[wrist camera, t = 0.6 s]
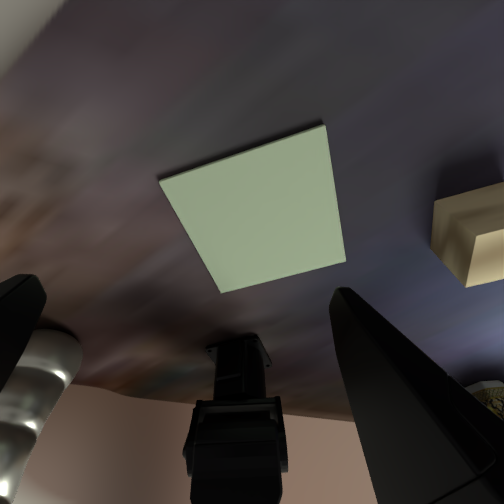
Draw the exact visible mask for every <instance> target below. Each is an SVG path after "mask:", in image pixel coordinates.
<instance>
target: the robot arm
mask: <svg viewBox="0 0 504 504" xmlns="http://www.w3.org/2000/svg"><path fill="white" fill-rule="evenodd" d="M46 300H47V295H46V292H45V290H44V288H43V286H42V284H41V282H40V280H39V278H38V277H37V276H36V275H33V274H18V275H15V276H13V277H11V278H9V279H7V280H5V281H3V282H1V283H0V393H1V391H2V389H3V388H4V386H5V384H6V382H7V381H8V379H9V377H10V375H11V374H12V372H13V370H14V368H15V367H16V365H17V363H18V361H19V360H20V358H21V356H22V354H23V352H24V350H25V348H26V346H27V344H28V342H29V340H30V338H31V335H32V333H33V331H34V329H35V326H36V324H37V322H38V319H39V317H40V315H41V312H42V310H43V308H44V306H45V303H46ZM329 314H330V320H331V326H332V332H333V339H334V345H335V351H336V356H337V360H338V364H339V367H340V371H341V374H342V378H343V381H344V385H345V388H346V392H347V396H348V399H349V403H350V406H351V410H352V413H353V417H354V420H355V424H356V427H357V431H358V434H359V438H360V442H361V445H362V449H363V452H364V456H365V459H366V463H367V467H368V470H369V474H370V477H371V481H372V484H373V488H374V492H375V495H376V498H377V502H378V504H504V420H502V419H501V418H500V417H499V416H497V415H496V414H495V413H494V412H492V411H491V410H490V409H489V408H487V407H486V406H485V405H484V404H483V403H481V402H480V401H479V400H478V399H477V398H476V397H474V396H473V395H472V394H471V393H470V392H468V391H467V390H466V389H465V388H464V387H463V386H462V385H460V384H459V383H458V382H457V381H456V380H455V379H454V378H452V377H451V376H448V374H447V372H445V371H444V370H443V369H442V368H441V367H440V366H439V365H437V364H436V363H435V362H434V361H433V360H432V359H431V358H430V357H428V356H427V355H426V354H425V353H424V352H423V351H422V350H420V349H419V348H418V347H417V346H416V345H415V344H414V343H412V342H411V341H410V340H409V339H408V338H407V337H406V336H405V335H403V334H402V333H401V332H400V331H399V330H398V329H397V328H395V327H394V326H393V325H392V324H391V323H390V322H389V321H387V320H386V319H385V318H384V317H383V316H382V315H381V314H380V313H378V312H377V311H376V310H375V309H374V308H373V307H372V306H370V305H369V304H368V303H367V302H366V301H365V300H364V299H362V298H361V297H360V296H359V295H358V294H357V293H356V292H355V291H353V290H352V289H351V288H349V287H337V288H336V289H335V291H334V293H333V296H332V299H331V302H330V305H329ZM205 351H206V353H207V354H208V356H209V357H210V358H211V359H212V361H213V362H214V363H215V365H216V368H215V381H214V394H213V400H208V401H202V400H197V402H196V407H195V408H194V409H193V414H192V420H191V424H190V429H189V433H188V436H187V439H186V442H185V445H184V448H183V457H184V458H185V460H186V465H187V473H188V477H192V479H191V493H190V500H191V503H192V504H279V503H280V500H281V497H282V478H281V472H282V473H284V472H288V455H287V444H286V435H285V428H284V421H283V414H282V407H281V400H280V396H275V397H271V398H266V387H265V372H264V369H266V368H270V367H272V362H271V360H270V358H269V356H268V354H267V352H266V350H265V348H264V346H263V344H262V343H261V341H260V339H259V337H258V336H256V335H254V336H249V337H245V338H240V339H236V340H231V341H227V342H223V343H218V344H214V345H209V346H207V347H206V350H205Z"/></svg>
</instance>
